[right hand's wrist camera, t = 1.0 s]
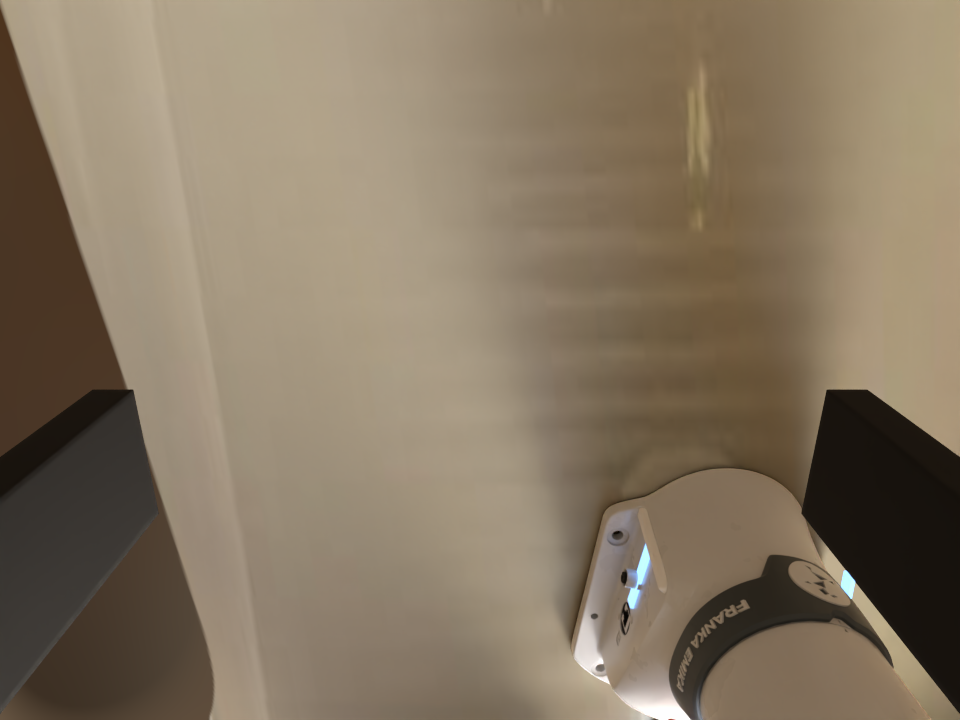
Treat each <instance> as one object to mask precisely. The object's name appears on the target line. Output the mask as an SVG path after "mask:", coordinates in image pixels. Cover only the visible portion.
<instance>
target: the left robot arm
mask: <svg viewBox="0 0 960 720" xmlns="http://www.w3.org/2000/svg"><path fill="white" fill-rule="evenodd" d="M801 512H802V508H801V506H800V504H799V503H798V501H797V500H796V498H795V497H794V496H793V495H792V494H791V493H790V491H788V490H787V489H786V488H785V487H784V486H783V485H781V484H780V483H778V482H777V481H775V480H773V479H772V478H770V477H767V476H765V475H763V474H760V473H757V472H753V471H749V470H744V469H736V468H717V469H709V470H704V471H699V472H695V473H692V474H689V475H686V476H683V477H681V478H679V479H676V480H674V481H672V482H671V483H669V484H667V485H665V486H664V487H662V488H660V489H659V490H657V491H655V492H654V493H652V494H650V495H648V496H645V497H642V498H637V499H632V500H627V501H623V502H620V503H616V504H614V505H612V506H610V507H609V508H607V510H606V511H605V512H604V514H603V517H602V521H601V525H600V529H599V533H598V537H597V542H596V546H595V550H594V554H593V558H592V562H591V566H590V570H589V574H588V578H587V582H586V586H585V590H584V594H583V598H582V602H581V606H580V610H579V614H578V618H577V622H576V626H575V630H574V634H573V638H572V642H571V651H572V654H573V657H574V659H575V660H576V661H577V662H578V663H579V665H580V666H582V667H583V668H584V669H585V670H586V671H588V672H589V673H590V674H592V675H593V676H595V677H597V678H598V679H600V680H602V681H604V682H606V683H609V684H610V685H611V687H612V689H613V690H614V692H615V693H616V694H617V695H618V697H619V698H620V699H621V700H622V701H624V702H625V703H626V704H627V705H629V706H630V707H632V708H633V709H635V710H637V711H639V712H641V713H643V714H645V715H648V716H650V717H653V718H655V719H657V720H932V719H931V718H930V717H929V715H928V714H927V713H926V711H925V710H924V709H923V707H922V706H921V705H920V704H919V702H918V701H917V700H916V698H915V697H914V696H913V694H912V693H911V692H910V690H909V689H908V688H907V686H906V685H905V684H904V682H903V681H902V680H901V678H900V677H899V676H898V674H897V673H896V672H895V670H894V667H893V663H892V659H891V656H890V654H889V652H888V650H887V648H886V647H885V645H884V644H883V642H882V641H881V639H880V638H879V636H878V635H877V633H876V632H875V631H874V629H873V628H872V626H871V625H870V623H869V622H868V620H867V619H866V618H865V616H864V615H863V614H862V612H861V611H860V610H859V608H858V607H857V606H856V604H855V603H854V602H853V600H852V595H853V590H854V585H855V581H854V580H853V578H852V577H851V576H850V574H849V573H848V572H847V571H844V573H843V579H842V584H841V586H840V585H839V584H838V583H837V582H836V581H835V580H834V579H833V578H832V577H831V576H830V575H829V573H828V572H827V570H826V568H825V566H824V564H823V562H822V560H821V558H820V556H819V554H818V552H817V550H816V548H815V545H814V543H813V540H812V538H811V535H810V532H809V529H808V526H807V522H806V519H805V518H804V516H803V515H802V514H801ZM615 531H621V532H620V533H619V534H613V532H615ZM598 664H601V665H598Z"/></svg>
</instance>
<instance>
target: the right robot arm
mask: <svg viewBox="0 0 960 720" xmlns="http://www.w3.org/2000/svg"><path fill="white" fill-rule="evenodd" d="M158 514H159V513H158V508H157V503H156V498H155V493H154V488H153V483H152V479H151V474H150V469H149V464H148V459H147V454H146V449H145V445H144V440H143V435H142V430H141V425H140V420H139V415H138V411H137V406H136V401H135V396H134V391H133V390H92V391H90V392H89V393H88V394H86V395H85V396H83V397H82V398H81V399H79V400H78V401H77V402H75V403H74V404H73V405H71V406H70V407H68V408H67V409H66V410H64V411H63V412H61V413H60V414H59V415H57V416H56V417H55V418H53V419H52V420H50V421H49V422H48V423H46V424H45V425H44V426H42V427H41V428H39V429H38V430H37V431H35V432H34V433H33V434H31V435H30V436H29V437H27V438H26V439H24V440H23V441H22V442H20V443H19V444H18V445H16V446H15V447H13V448H12V449H11V450H9V451H8V452H7V453H5V454H4V455H3V456H1V457H0V713H1V712H2V711H3V710H4V708H5V707H6V706H7V705H8V703H9V702H10V701H11V700H12V698H13V697H14V696H15V694H16V693H17V692H18V691H19V689H20V688H21V687H22V686H23V684H24V683H25V682H26V681H27V679H28V678H29V677H30V676H31V674H32V673H33V672H34V670H35V669H36V668H37V667H38V665H39V664H40V663H41V662H42V660H43V659H44V658H45V657H46V655H47V654H48V653H49V651H50V650H51V649H52V648H53V646H54V645H55V644H56V643H57V641H58V640H59V639H60V638H61V636H62V635H63V634H64V633H65V631H66V630H67V629H68V627H69V626H70V625H71V624H72V622H73V621H74V620H75V619H76V617H77V616H78V615H79V614H80V612H81V611H82V610H83V609H84V607H85V606H86V605H87V604H88V602H89V601H90V600H91V598H92V597H93V596H94V595H95V593H96V592H97V591H98V590H99V588H100V587H101V586H102V585H103V583H104V582H105V581H106V580H107V578H108V577H109V576H110V574H111V573H112V572H113V571H114V569H115V568H116V567H117V566H118V564H119V563H120V562H121V561H122V559H123V558H124V557H125V556H126V554H127V553H128V552H129V550H130V549H131V548H132V547H133V545H134V544H135V543H136V542H137V540H138V539H139V538H140V537H141V535H142V534H143V533H144V531H145V530H146V529H147V528H148V526H149V525H150V524H151V523H152V521H153V520H154V519H155V518H156V516H157V515H158ZM801 514H802V515H803V516H804V518H805V519H806V520H807V521H808V523H809V524H810V525H811V526H812V528H813V529H814V530H815V532H816V533H817V534H818V535H819V537H820V538H821V539H822V540H823V542H824V543H825V544H826V545H827V547H828V548H829V549H830V550H831V552H832V553H833V554H834V556H835V557H836V558H837V559H838V561H839V562H840V563H841V564H842V566H843V567H844V568H845V569H846V571H847V572H848V573H849V574H850V576H851V577H852V578H853V580H854V581H855V582H856V583H857V585H858V586H859V587H860V588H861V590H862V591H863V592H864V593H865V595H866V596H867V597H868V598H869V600H870V601H871V602H872V604H873V605H874V606H875V607H876V609H877V610H878V611H879V612H880V614H881V615H882V616H883V617H884V619H885V620H886V621H887V622H888V624H889V625H890V626H891V628H892V629H893V630H894V631H895V633H896V634H897V635H898V636H899V638H900V639H901V640H902V641H903V643H904V644H905V645H906V646H907V648H908V649H909V650H910V652H911V653H912V654H913V655H914V657H915V658H916V659H917V660H918V662H919V663H920V664H921V665H922V667H923V668H924V669H925V670H926V672H927V673H928V674H929V676H930V677H931V678H932V679H933V681H934V682H935V683H936V684H937V686H938V687H939V688H940V689H941V691H942V692H943V693H944V694H945V696H946V697H947V698H948V700H949V701H950V702H951V703H952V705H953V706H954V707H955V708H956V710H957V711H958V712H959V713H960V457H959V456H958V455H956V454H955V453H953V452H952V451H951V450H949V449H948V448H947V447H945V446H944V445H942V444H941V443H940V442H938V441H937V440H936V439H934V438H933V437H931V436H930V435H929V434H927V433H926V432H925V431H923V430H922V429H921V428H919V427H918V426H916V425H915V424H914V423H912V422H911V421H910V420H908V419H907V418H905V417H904V416H903V415H901V414H900V413H899V412H897V411H896V410H894V409H893V408H892V407H890V406H889V405H888V404H886V403H885V402H883V401H882V400H881V399H879V398H878V397H877V396H875V395H874V394H872V393H871V392H870V391H868V390H827V391H826V396H825V401H824V406H823V411H822V415H821V420H820V425H819V430H818V435H817V440H816V445H815V449H814V454H813V459H812V464H811V469H810V474H809V478H808V483H807V488H806V493H805V498H804V503H803V508H802V512H801Z"/></svg>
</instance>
